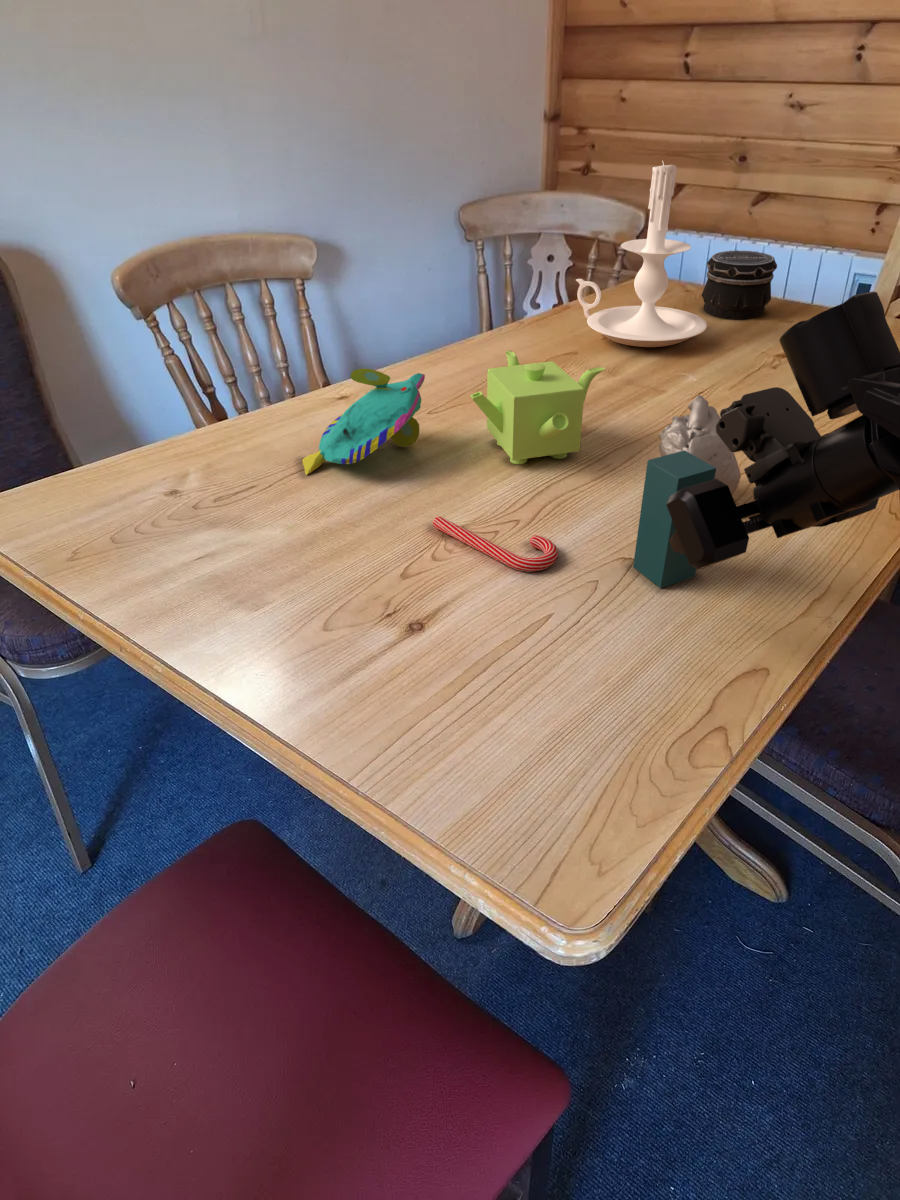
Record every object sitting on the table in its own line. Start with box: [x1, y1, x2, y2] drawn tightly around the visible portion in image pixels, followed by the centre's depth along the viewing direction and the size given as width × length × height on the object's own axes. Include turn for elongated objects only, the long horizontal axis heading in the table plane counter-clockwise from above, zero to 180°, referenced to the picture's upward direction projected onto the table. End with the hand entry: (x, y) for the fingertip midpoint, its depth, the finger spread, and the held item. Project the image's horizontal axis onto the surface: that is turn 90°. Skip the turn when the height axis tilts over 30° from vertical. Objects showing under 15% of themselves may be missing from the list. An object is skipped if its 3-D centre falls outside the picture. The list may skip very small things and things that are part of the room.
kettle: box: [469, 350, 606, 465], centre depth 100 cm, size 15×14×11 cm
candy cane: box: [432, 516, 559, 572], centre depth 84 cm, size 6×15×2 cm, turn 44°
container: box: [701, 250, 778, 320], centre depth 148 cm, size 13×13×10 cm
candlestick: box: [575, 160, 708, 348], centre depth 131 cm, size 21×25×28 cm
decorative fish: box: [302, 368, 426, 476], centre depth 99 cm, size 20×12×15 cm
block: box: [632, 450, 716, 589], centre depth 75 cm, size 4×4×12 cm
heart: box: [658, 394, 742, 495], centre depth 87 cm, size 10×10×12 cm
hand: (713, 532), depth 71 cm, fingers open, 9 cm apart
